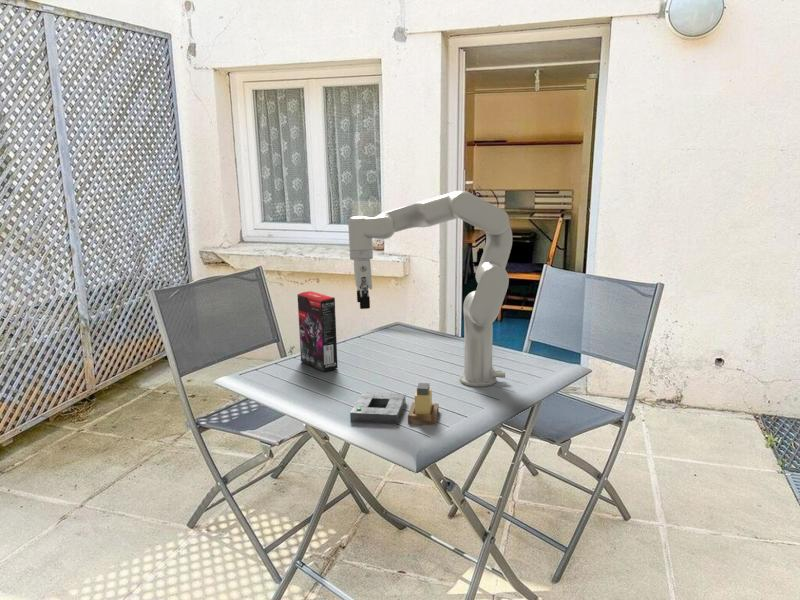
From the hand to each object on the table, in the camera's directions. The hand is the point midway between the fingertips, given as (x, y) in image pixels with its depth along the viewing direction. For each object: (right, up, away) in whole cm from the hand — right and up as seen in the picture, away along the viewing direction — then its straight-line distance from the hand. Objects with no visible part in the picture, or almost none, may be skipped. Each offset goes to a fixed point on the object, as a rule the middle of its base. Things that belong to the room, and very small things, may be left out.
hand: (363, 305), depth 200 cm
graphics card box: (-18, -23, +27) cm, 40 cm away
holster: (+19, -33, -21) cm, 44 cm away
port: (+6, -33, -16) cm, 37 cm away
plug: (+19, -33, -21) cm, 44 cm away
